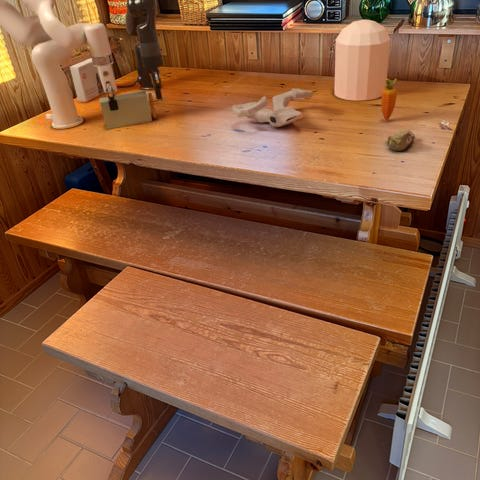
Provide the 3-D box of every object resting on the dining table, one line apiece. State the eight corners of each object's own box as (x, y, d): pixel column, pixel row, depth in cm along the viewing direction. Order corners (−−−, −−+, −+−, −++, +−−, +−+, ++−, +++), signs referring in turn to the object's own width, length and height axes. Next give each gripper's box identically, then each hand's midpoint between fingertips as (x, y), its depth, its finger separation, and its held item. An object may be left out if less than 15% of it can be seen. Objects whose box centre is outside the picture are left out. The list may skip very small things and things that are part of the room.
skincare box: (87, 102, 214) (77, 67, 204) (78, 102, 215) (68, 66, 206) (113, 88, 229) (105, 54, 220) (104, 88, 231) (96, 54, 222)
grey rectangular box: (150, 116, 191) (145, 90, 185) (152, 121, 186) (147, 94, 180) (105, 124, 188) (99, 98, 182) (106, 129, 183) (99, 102, 177)
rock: (408, 140, 153) (379, 139, 152) (414, 122, 149) (384, 120, 148) (421, 154, 144) (391, 153, 143) (428, 135, 140) (396, 133, 139)
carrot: (394, 118, 167) (398, 76, 158) (393, 123, 163) (397, 80, 154) (379, 117, 168) (383, 75, 160) (378, 122, 165) (382, 80, 156)
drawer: (167, 111, 191) (164, 90, 186) (169, 115, 188) (165, 93, 183) (113, 121, 187) (108, 99, 182) (114, 125, 183) (108, 103, 178)
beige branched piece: (230, 133, 167) (227, 101, 161) (244, 110, 188) (241, 81, 182) (308, 133, 161) (308, 99, 155) (313, 109, 182) (314, 78, 176)
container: (354, 104, 182) (359, 27, 166) (324, 91, 198) (325, 20, 182) (396, 93, 189) (404, 18, 173) (363, 81, 205) (368, 12, 189)
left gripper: (114, 63, 166) (125, 112, 176) (111, 53, 180) (122, 99, 190) (92, 66, 164) (105, 116, 175) (91, 56, 178) (103, 102, 188)
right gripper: (163, 55, 171) (171, 101, 181) (158, 48, 182) (166, 93, 191) (143, 58, 169) (152, 105, 179) (139, 51, 180) (148, 96, 190)
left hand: (114, 107), depth 182 cm, fingers closed on grey rectangular box, 6 cm apart
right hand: (159, 98), depth 185 cm, fingers closed
